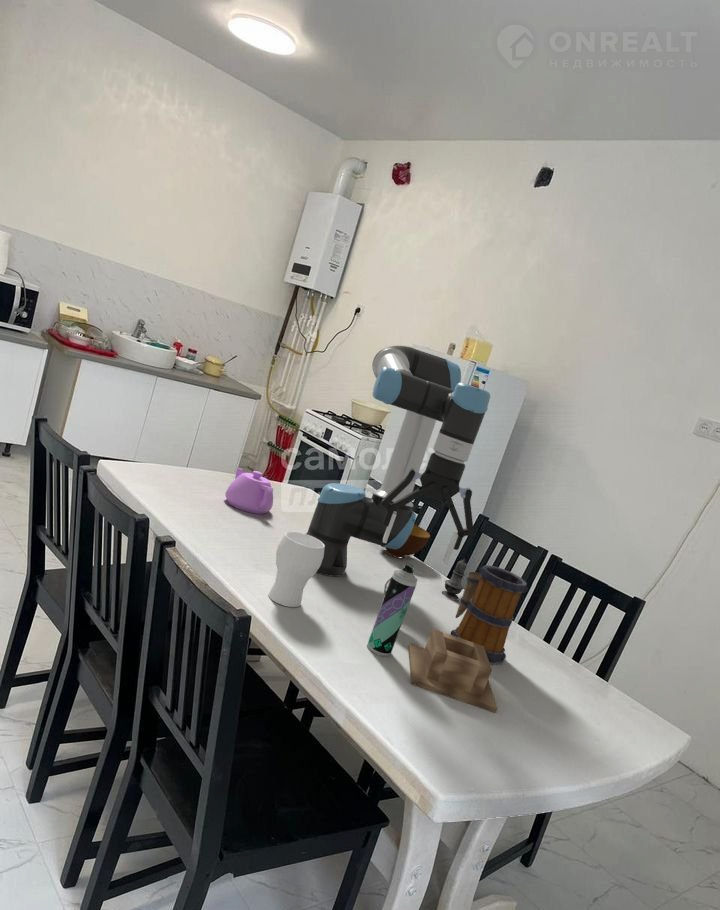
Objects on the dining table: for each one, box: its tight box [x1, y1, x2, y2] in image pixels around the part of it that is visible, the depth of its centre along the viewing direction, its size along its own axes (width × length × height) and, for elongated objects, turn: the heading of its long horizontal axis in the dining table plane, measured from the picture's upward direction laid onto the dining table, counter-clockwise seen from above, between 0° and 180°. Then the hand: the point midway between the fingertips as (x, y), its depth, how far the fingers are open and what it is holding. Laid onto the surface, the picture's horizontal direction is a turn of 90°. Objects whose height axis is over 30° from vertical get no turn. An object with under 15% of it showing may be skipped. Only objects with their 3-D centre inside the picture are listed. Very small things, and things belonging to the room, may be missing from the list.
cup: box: [268, 530, 325, 608], centre depth 158 cm, size 11×11×15 cm
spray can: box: [366, 563, 418, 657], centre depth 148 cm, size 6×6×20 cm
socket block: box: [407, 628, 499, 714], centre depth 147 cm, size 18×18×7 cm
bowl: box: [384, 524, 431, 558], centre depth 228 cm, size 18×18×10 cm
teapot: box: [225, 467, 274, 515], centre depth 224 cm, size 22×16×12 cm
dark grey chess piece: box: [441, 558, 468, 601], centre depth 204 cm, size 6×6×12 cm
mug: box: [450, 564, 529, 666], centre depth 170 cm, size 19×14×20 cm
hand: (414, 551), depth 146 cm, fingers open, 13 cm apart
